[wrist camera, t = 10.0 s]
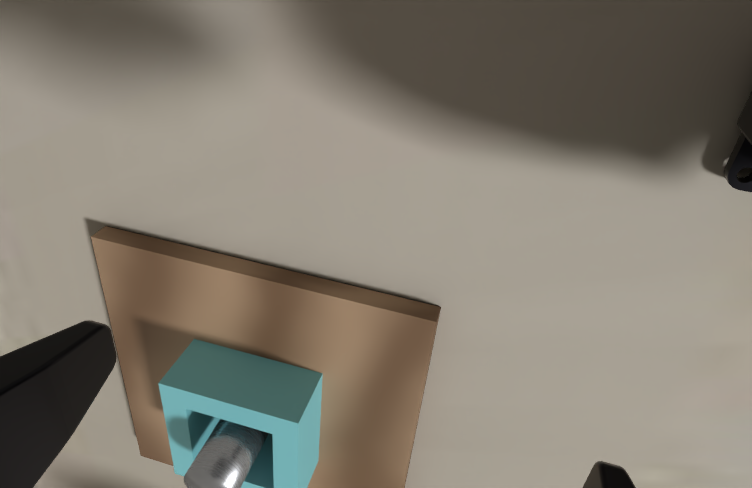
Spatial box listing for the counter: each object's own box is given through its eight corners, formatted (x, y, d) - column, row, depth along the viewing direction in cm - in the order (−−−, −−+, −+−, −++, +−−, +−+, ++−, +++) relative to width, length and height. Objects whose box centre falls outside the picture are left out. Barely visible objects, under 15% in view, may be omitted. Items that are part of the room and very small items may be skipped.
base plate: (440, 307, 23) (436, 322, 23) (397, 519, 32) (393, 535, 31) (105, 225, 26) (90, 236, 25) (150, 442, 35) (140, 455, 34)
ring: (322, 373, 26) (298, 423, 23) (318, 460, 30) (297, 512, 27) (194, 338, 27) (158, 383, 25) (205, 427, 31) (175, 473, 28)
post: (280, 392, 27) (232, 479, 23) (280, 424, 29) (235, 512, 25) (235, 379, 28) (181, 463, 24) (238, 411, 29) (186, 496, 25)
